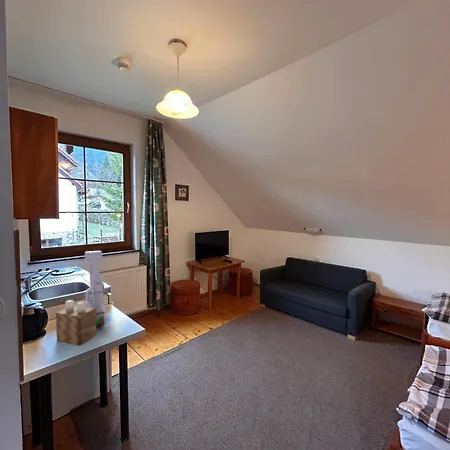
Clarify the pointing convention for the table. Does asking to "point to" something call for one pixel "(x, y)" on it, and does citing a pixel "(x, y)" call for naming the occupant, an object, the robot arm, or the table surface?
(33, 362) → the table surface
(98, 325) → the food container
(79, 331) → the wooden bottle crate
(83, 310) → the tumblers
